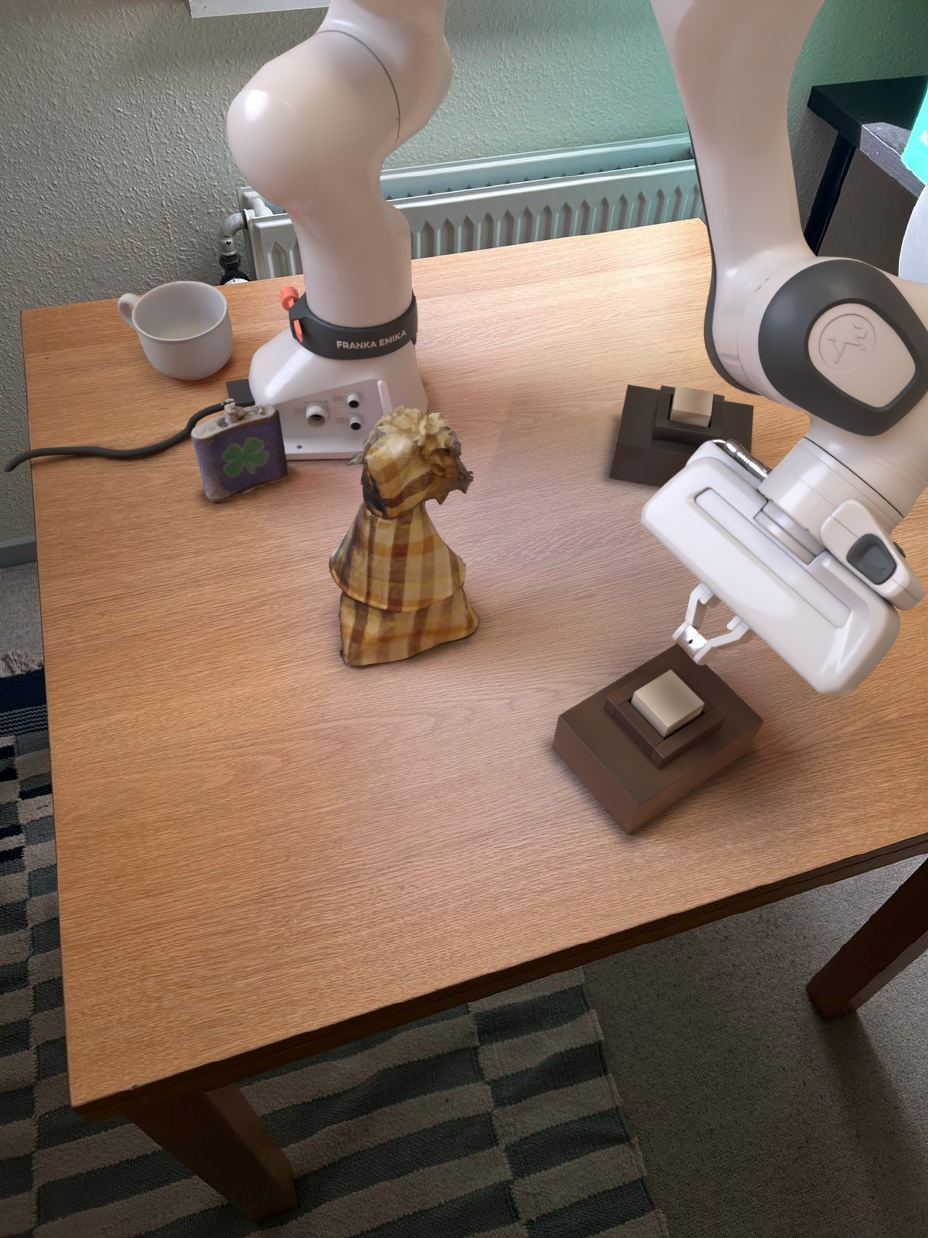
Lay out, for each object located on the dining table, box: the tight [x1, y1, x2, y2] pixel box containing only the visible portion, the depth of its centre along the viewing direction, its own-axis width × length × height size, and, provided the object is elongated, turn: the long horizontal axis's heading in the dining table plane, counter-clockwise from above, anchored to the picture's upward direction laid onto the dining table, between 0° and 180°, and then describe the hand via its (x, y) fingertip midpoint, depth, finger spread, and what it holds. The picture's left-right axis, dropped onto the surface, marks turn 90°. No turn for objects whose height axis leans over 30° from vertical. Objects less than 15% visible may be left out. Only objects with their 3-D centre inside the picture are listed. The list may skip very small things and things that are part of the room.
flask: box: [190, 398, 290, 503], centre depth 94 cm, size 9×3×11 cm, turn 121°
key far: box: [669, 385, 714, 427], centre depth 97 cm, size 4×4×2 cm
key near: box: [631, 670, 704, 738], centre depth 74 cm, size 4×4×2 cm
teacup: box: [117, 280, 234, 381], centre depth 108 cm, size 14×11×8 cm
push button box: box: [551, 643, 765, 836], centre depth 77 cm, size 14×10×7 cm
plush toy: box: [328, 406, 481, 667], centre depth 79 cm, size 14×14×25 cm
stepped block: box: [608, 384, 755, 488], centre depth 100 cm, size 14×10×7 cm
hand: (686, 651), depth 69 cm, fingers closed
